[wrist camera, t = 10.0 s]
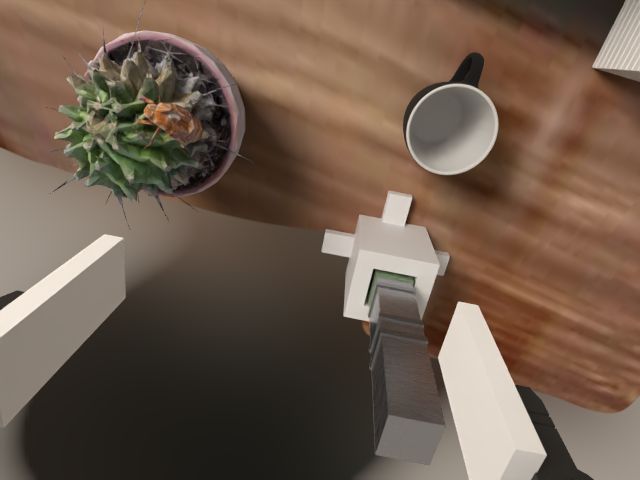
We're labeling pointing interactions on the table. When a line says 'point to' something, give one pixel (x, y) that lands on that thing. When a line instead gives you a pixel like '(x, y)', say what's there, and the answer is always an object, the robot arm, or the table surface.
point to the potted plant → (153, 117)
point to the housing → (386, 254)
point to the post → (401, 372)
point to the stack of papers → (622, 44)
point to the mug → (452, 122)
